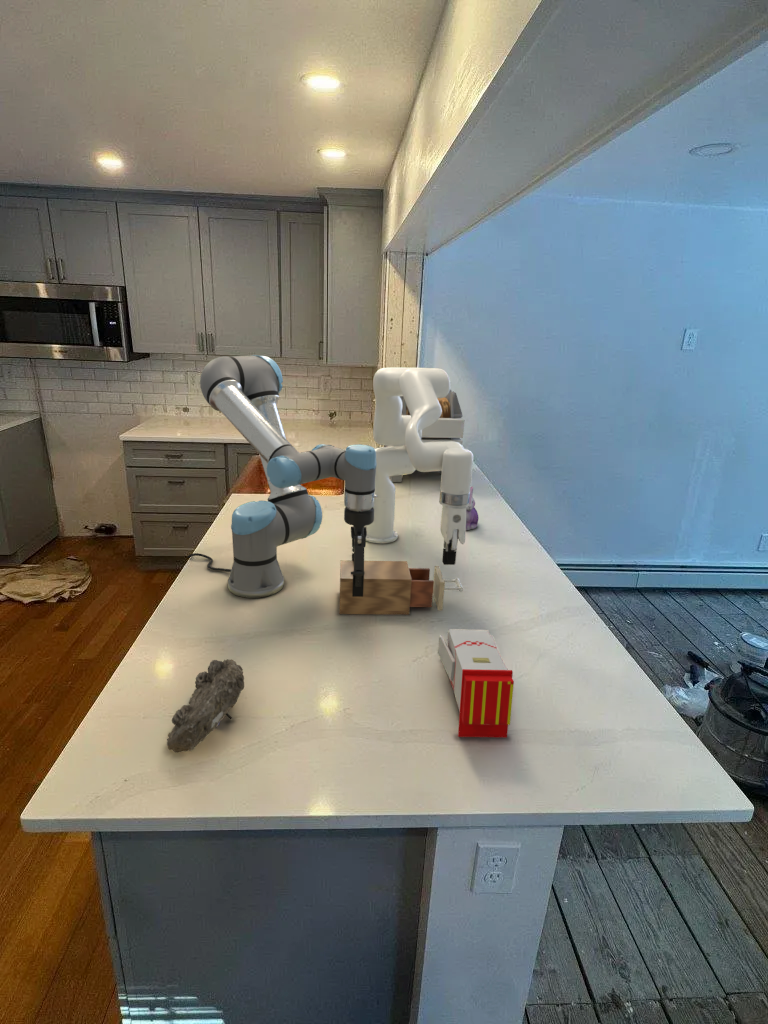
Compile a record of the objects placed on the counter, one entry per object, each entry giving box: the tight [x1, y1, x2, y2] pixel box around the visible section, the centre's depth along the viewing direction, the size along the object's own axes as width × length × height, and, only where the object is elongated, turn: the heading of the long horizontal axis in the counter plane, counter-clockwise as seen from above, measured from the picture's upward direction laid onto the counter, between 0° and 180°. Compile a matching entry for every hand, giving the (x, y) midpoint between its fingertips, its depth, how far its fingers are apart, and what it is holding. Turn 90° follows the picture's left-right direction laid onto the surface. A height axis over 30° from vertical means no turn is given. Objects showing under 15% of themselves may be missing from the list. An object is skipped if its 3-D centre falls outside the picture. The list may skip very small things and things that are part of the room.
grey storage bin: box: [383, 389, 465, 483], centre depth 268 cm, size 34×33×41 cm
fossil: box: [166, 658, 245, 754], centre depth 106 cm, size 22×10×15 cm
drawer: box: [409, 565, 464, 611], centre depth 151 cm, size 22×10×8 cm, turn 94°
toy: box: [437, 628, 515, 738], centre depth 117 cm, size 12×13×30 cm
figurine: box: [466, 486, 480, 531], centre depth 207 cm, size 9×10×15 cm
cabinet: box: [338, 559, 412, 616], centre depth 150 cm, size 18×11×10 cm, turn 94°
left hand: (357, 585), depth 150 cm, fingers closed on cabinet, 11 cm apart
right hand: (448, 563), depth 149 cm, fingers closed
